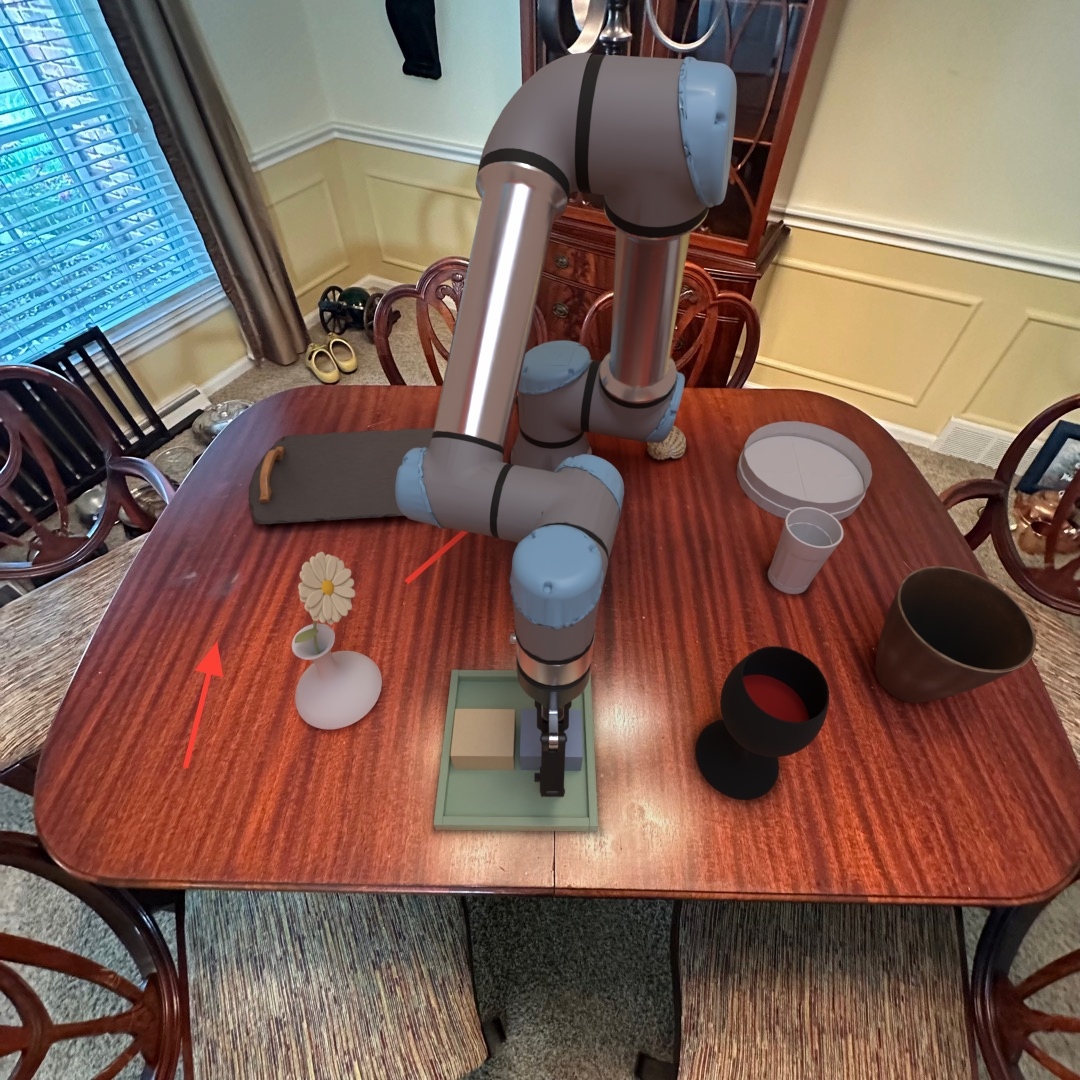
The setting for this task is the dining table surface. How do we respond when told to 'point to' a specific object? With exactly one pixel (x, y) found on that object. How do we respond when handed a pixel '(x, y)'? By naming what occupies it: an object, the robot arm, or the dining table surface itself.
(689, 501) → the dining table surface
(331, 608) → the flower in vase
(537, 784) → the frame
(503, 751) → the tan pad
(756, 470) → the dish
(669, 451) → the seashell
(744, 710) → the wine glass
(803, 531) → the cup
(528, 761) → the blue pad
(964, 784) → the dining table surface
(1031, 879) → the dining table surface
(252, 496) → the serving tray
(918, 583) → the flower pot
